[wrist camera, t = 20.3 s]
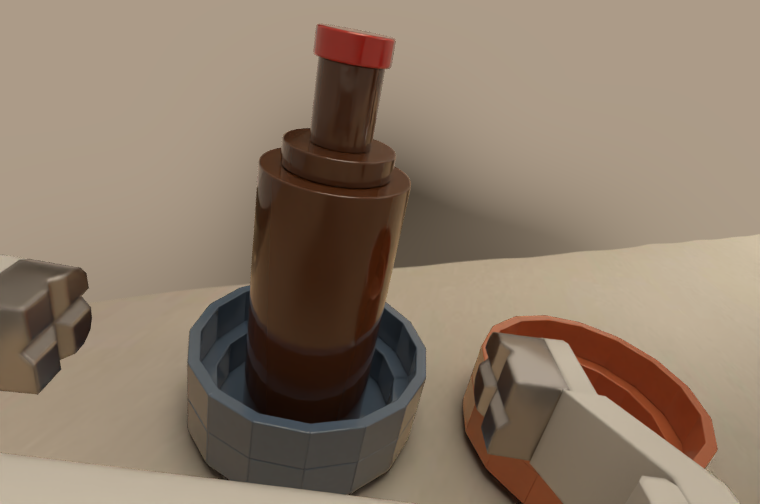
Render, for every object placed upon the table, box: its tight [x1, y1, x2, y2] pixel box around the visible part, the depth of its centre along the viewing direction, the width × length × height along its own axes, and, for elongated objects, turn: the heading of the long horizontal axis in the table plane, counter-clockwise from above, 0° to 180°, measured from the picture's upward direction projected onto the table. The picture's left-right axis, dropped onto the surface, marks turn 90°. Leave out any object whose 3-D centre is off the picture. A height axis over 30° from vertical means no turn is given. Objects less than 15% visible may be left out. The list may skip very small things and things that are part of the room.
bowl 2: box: [463, 315, 718, 504], centre depth 25 cm, size 11×11×4 cm
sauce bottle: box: [242, 24, 411, 424], centre depth 20 cm, size 6×6×18 cm
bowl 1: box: [187, 285, 426, 495], centre depth 23 cm, size 11×11×4 cm
